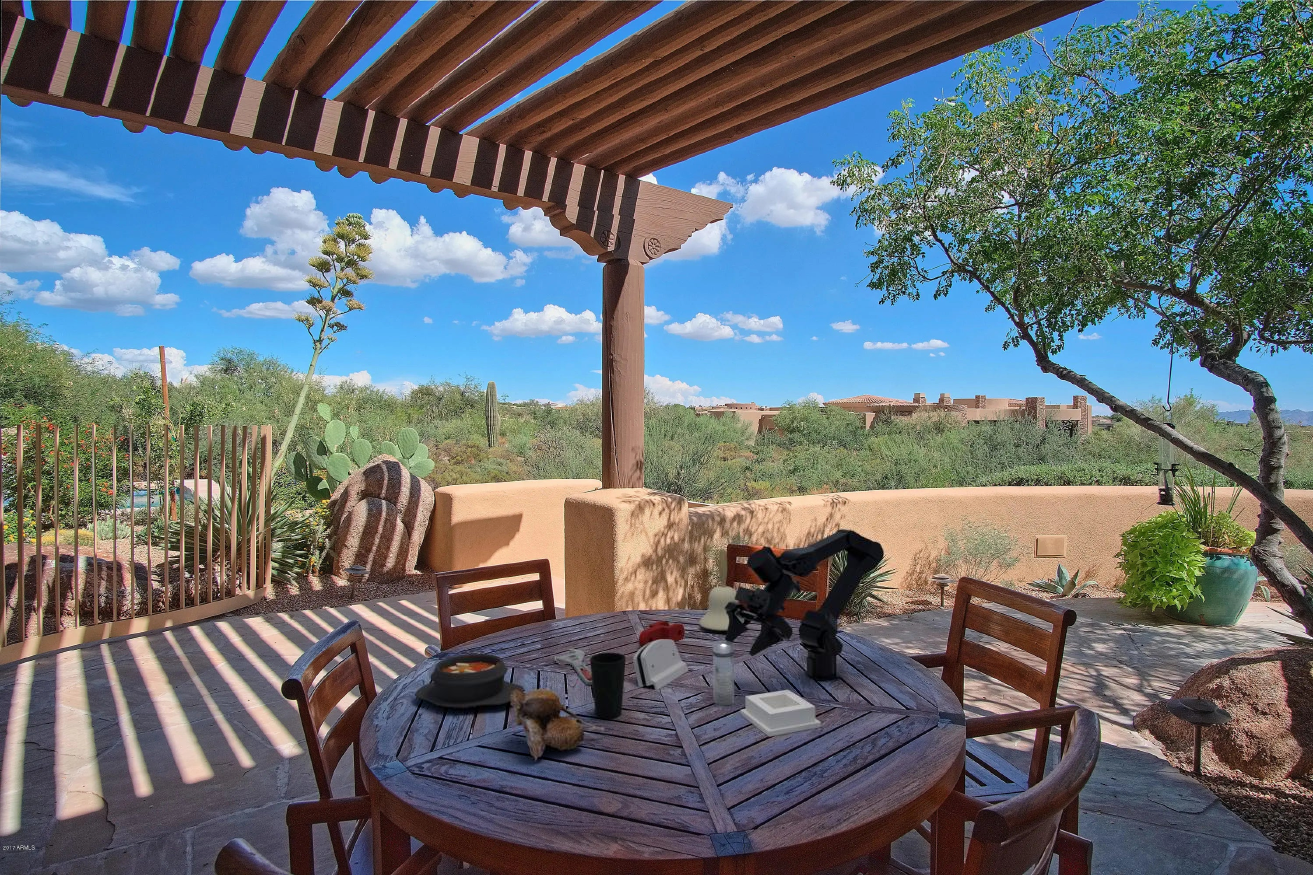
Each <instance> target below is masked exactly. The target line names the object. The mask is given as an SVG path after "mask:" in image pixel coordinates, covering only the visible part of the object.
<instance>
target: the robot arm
mask: <svg viewBox="0 0 1313 875" xmlns="http://www.w3.org/2000/svg"><path fill="white" fill-rule="evenodd" d="M842 551H845V552H846V555H845V556H846V557H845V558H846V565H845V567H844V569H843V570H842V571H841V573H840V575H839V576H838V577H837V579H836V581H835V582H834V585H833V586H832V588H831V589H830V591H829V592H828V594H827V596H826V598H825V599H824V601H823V602H822V604H821V605H820V607H819V608H818V609H816V610H812V609H808V610H807V611H806V613H805V615H804V617H803V618H802V619H801V620H800V621H799V623H800V625H799V627H798V636H799V639H800V641H801V644H802V647H803V649H805V650H807V656H806V670H804V674H805V675H808V676H809V677H811V678H813V679H815V680H816V681H819V682H822V681H827V680H834V679H840V678H841V677H842V676H841V675H840V674H838V673H837V672H838V671H837V667H838V666H837V665H838V664H837V656H838V655H840V654H842V652H843V648H844V644H843V643H842V642H841V640H839V638H838V637H837V634H838V620H839V617H841V614H842V613H843V611H844V610H845V608H846V606H847V604H848V603H849V601H850V599H851V597H852V596H853V595H854V592H856V591H855V590H856V589H857V588H858V587H859V584H860V583H861V581H862V580H863V577H864V576H865V575H867V574H868V573H870V572H871V571H873V570H875V569H876V568H877V567H878V566H879V564H881V562H882V561H883V558H884V556H885V552H884V548H883V546H882V544H881V543H880V542H878V541H874V540H872V539H869V538H868V537H865V536H863V535H860V533H858V532H857V531H855V530H852V529H844V528H840V529H838V530H836V531H835V532H833V533H832V534H830V535H828V536H826V537H824V538H822V539H820V540H817V541H816V542H814V543H812V544H810V545H807V546H805V547H795V548H791V549H786V550H784V551H783V552H782V553H781V554H780V555H776V554H775V553H774V551H773V549H772V548H771V546H766V545H763V546H762V548H760V549H759V550H756V551H754V552H753V553H752V554H750V555H749V556H748V558H747V561H746V565H747V567H748V568H749V569H750V570H751V572H753V574H754V575H755V576H756V577H757V579H759V581H760V582H761V583H762V584H766V585H765V586H764V588H760V587H759V588H758V587H757V588H755V589H750V588H748V587H744V586H738V587H737V591H736V592H737V593H736V596H735V600H738V603H737V602H733V601H732V602H728V604H727V605H726V607H725V608H724V609H725V610H726V614H727V615H728V617H729V625H728V629H727V630H726V633H725V636H724V640H725V641H731V642H733V643H734V642H735V640H736V639H737V638H738V637H740V636H741V634H743V633H744V632H745V631H746V630H747V629H748V625H750V624H751V623H755V624H757V625H758V624H759V625H760V632H759V634H758V636H757V638H756V639H755V641H754V642H753V644H752V646H751V648H750V650H749V652H748V655H749V656H751V657H754V656H755V655H757V654H759V653H761V652H763V651H765V650H766V649H768V648H770V647H772V646H774V645H776V644H778V643H783V642H784V641H790V639H791V637H792V636H793V633H794V632H793V630H794V629H793V627H792V626H791V625H790V624H789V622H788V621H787V620H786V619H785V618H784V617H783V615H779V614H778V613H779V612H784V611H785V610H786V607H785V606H784V604H785V602H786V601H787V600H788V598H789V597H790V595H791V593H792V592H793V593H798V594H800V593H801V591H802V590H801V586H800V581H799V580H795V579H794V578H793V577H798V578H806V577H808V576H810V574H812V573H813V572H814V571H815V570H817V567H818V565H819V564H820V563H821V562H824V561H825V560H827V559H829V558H831V557H833V556H835V555H837V554H838V553H841V552H842ZM792 576H793V577H792ZM739 601H740V602H742V603H744V605H743V604H742V603H739ZM747 609H748V610H749V611H748V610H747ZM746 626H747V627H746Z"/></svg>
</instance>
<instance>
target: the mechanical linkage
mask: <svg viewBox="0 0 1313 875" xmlns="http://www.w3.org/2000/svg"><path fill="white" fill-rule="evenodd" d="M685 633H686V630H685V626H684V625H683V624H681V623H677V622H675V623H672V624H670V623H669V621H664V620H659V621H656V622H654V623H651V624H649V625H648V628H647V629H644V630H641V632H640V634H639V636H638V645H639V647H640V649H641V648H642V647H643V646H645V645H646V644H648V643H650V642H652V641H656V640H661V639H670V640H673V641H674V642H676V643H678V642H680V641H679V640H681V639H682V640H683V639H684V637H685ZM682 640H681V641H682ZM677 641H678V642H677Z"/></svg>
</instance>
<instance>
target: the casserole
mask: <svg viewBox="0 0 1313 875" xmlns="http://www.w3.org/2000/svg"><path fill="white" fill-rule="evenodd" d="M433 670H434V671H433V672H432V673H431V674H430V679H431V680H432V681H431V682H429V683H427V684H425V685H422V686H421V687H420V688H418V689H417V690H416V691H415V692H414V697H415V698H417V699H419V700H422V701H426V702H429V703H432V704H434V705H436V706H439V707H444V708H450V707H453V708H452V709H464V708H463V707H474V706H479V707H483V706H499V705H505V704H507V703H511V701H510V697H511V696H510V694H511V691H513V690H516V689H520V690H521V691H523V692H524V693H525V688H524V686H523V685H520V684H517V683H512V682H509V681H507V680H505V675H506V674H507V672H508V667H507V665H505V662H504V660H503V658H501V657H500V656H497V655H495V654H490V653H489V654H487V653H471V654H470V653H469V654H462V655H461V654H460V655H456V656H452V657H448V658H445V659H442V660H441V661H439V662H438V663H436V665H435V667H434V669H433ZM474 708H475V707H474Z"/></svg>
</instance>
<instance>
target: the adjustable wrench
mask: <svg viewBox="0 0 1313 875" xmlns="http://www.w3.org/2000/svg"><path fill="white" fill-rule="evenodd" d="M570 653H571V654H570ZM585 656H586V653H585V652H584V651H583V650H581V649H574V648H573V649H571V648H569V654H565V655H561V656H556V655H555V656H554V662H555V661H556V662H555V664H556V663H566V664H570V665H569V666H571V665H572V668H573V667H574V668H573V669H574V670H575V672H576V674H578V676H579V678H580V679H581V680H582V681H583V683H585V684H586V685H587V686H593V684H592V675H591V669H590V668H589V667H588V666H587V665H586V664H585V663H584V661H585V659H586V657H585ZM584 658H585V659H584ZM583 660H584V661H583ZM582 661H583V662H582ZM581 669H582V670H581Z"/></svg>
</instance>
